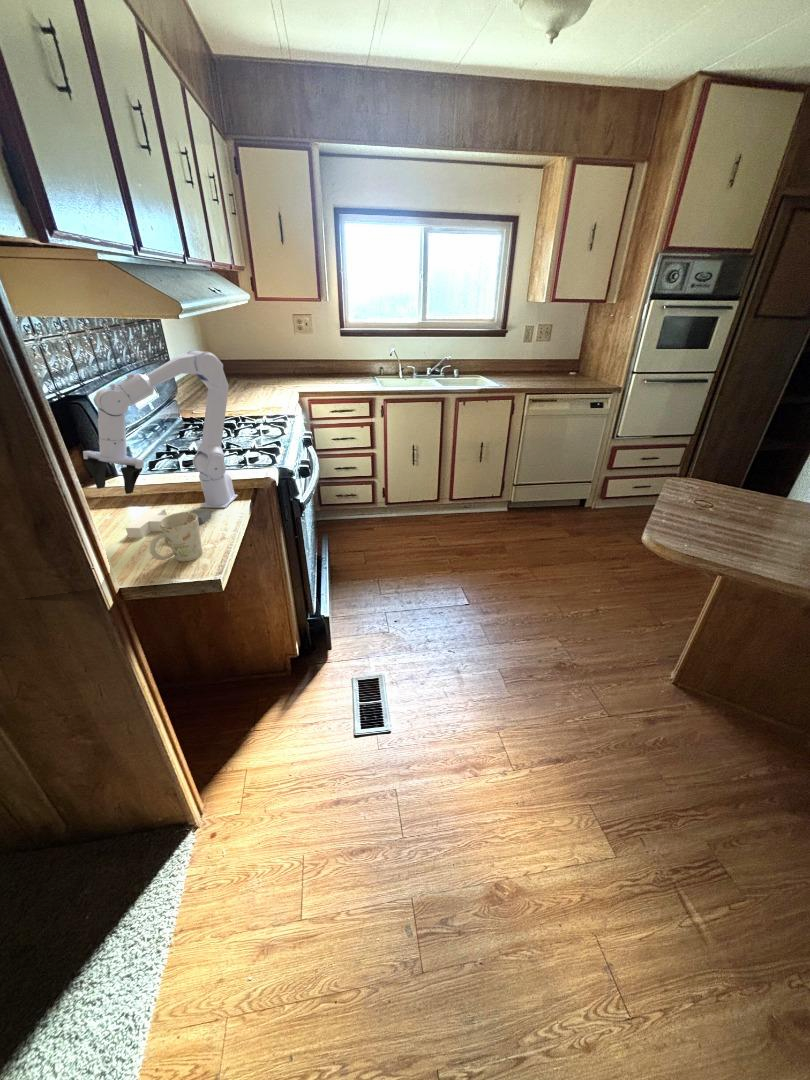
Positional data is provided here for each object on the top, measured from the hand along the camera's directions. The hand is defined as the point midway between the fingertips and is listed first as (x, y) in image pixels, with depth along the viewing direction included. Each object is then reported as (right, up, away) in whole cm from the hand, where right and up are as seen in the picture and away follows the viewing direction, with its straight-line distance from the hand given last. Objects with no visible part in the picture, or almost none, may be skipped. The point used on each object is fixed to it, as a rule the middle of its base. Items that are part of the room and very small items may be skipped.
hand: (115, 490), depth 113 cm
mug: (+22, -18, -8) cm, 29 cm away
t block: (+7, -10, +7) cm, 14 cm away
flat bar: (+17, -10, +7) cm, 21 cm away
